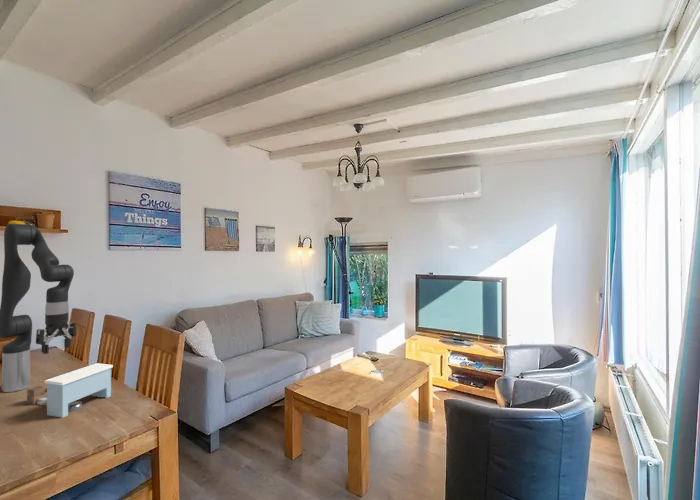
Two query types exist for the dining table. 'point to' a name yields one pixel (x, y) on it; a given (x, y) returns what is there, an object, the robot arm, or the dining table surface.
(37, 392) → the wooden cube mallet
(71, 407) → the token
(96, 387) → the bench
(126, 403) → the dining table surface
